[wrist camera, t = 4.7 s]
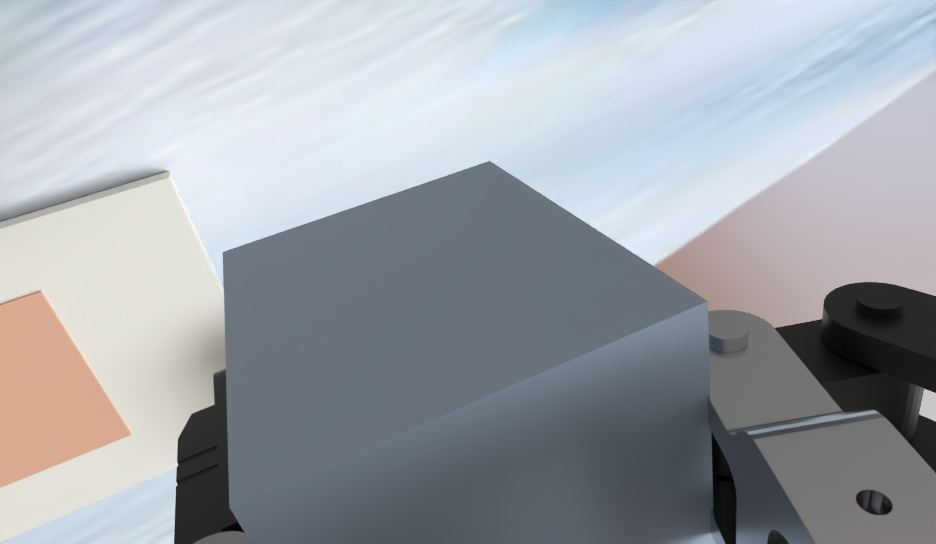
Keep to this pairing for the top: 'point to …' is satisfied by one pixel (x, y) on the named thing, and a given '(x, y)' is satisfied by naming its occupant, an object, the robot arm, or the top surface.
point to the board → (101, 346)
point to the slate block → (463, 378)
